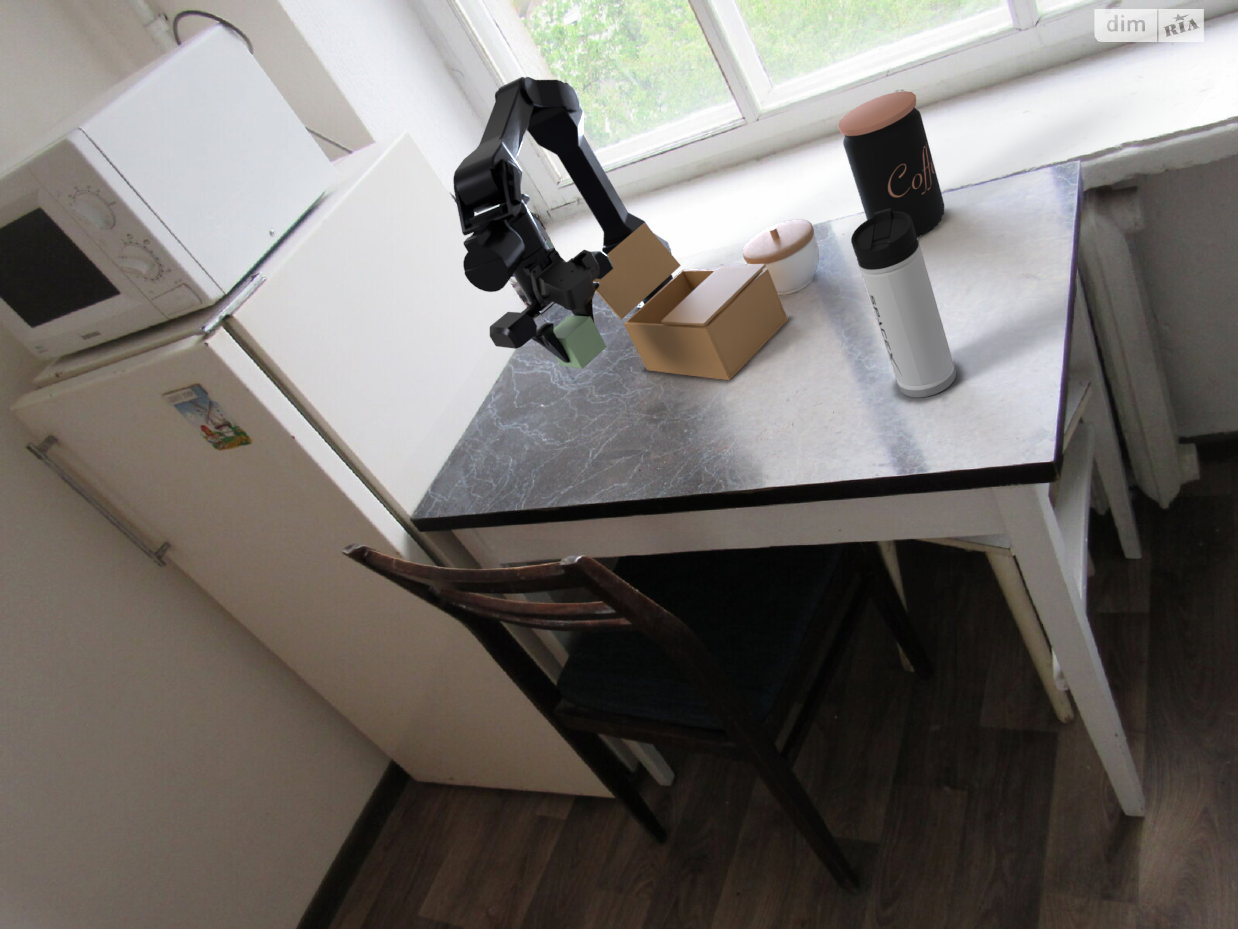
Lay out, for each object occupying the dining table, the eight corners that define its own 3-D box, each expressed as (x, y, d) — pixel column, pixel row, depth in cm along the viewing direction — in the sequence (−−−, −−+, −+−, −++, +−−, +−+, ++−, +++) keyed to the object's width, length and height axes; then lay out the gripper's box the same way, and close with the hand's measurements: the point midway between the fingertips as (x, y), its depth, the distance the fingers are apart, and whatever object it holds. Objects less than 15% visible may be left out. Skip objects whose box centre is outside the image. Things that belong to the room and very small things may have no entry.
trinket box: (825, 255, 133) (805, 200, 128) (832, 286, 125) (811, 228, 120) (758, 280, 137) (737, 228, 132) (761, 312, 128) (738, 257, 123)
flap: (621, 319, 125) (620, 320, 126) (680, 265, 131) (679, 266, 131) (583, 274, 124) (582, 275, 125) (644, 222, 130) (643, 223, 130)
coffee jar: (907, 250, 123) (871, 131, 114) (858, 240, 132) (822, 129, 123) (963, 210, 125) (932, 89, 115) (911, 203, 134) (879, 90, 124)
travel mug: (957, 358, 99) (913, 200, 88) (955, 392, 94) (908, 230, 84) (901, 368, 102) (852, 217, 92) (897, 402, 97) (845, 247, 87)
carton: (647, 370, 130) (620, 319, 125) (703, 315, 136) (680, 264, 131) (729, 380, 117) (703, 323, 112) (788, 319, 123) (765, 263, 118)
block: (561, 365, 120) (544, 336, 118) (585, 344, 122) (568, 315, 120) (582, 369, 116) (565, 338, 114) (606, 346, 118) (590, 316, 116)
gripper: (507, 294, 101) (568, 399, 109) (612, 209, 108) (662, 313, 116) (460, 292, 109) (520, 390, 118) (561, 213, 117) (611, 310, 125)
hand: (580, 350), depth 119 cm, fingers closed on block, 5 cm apart
